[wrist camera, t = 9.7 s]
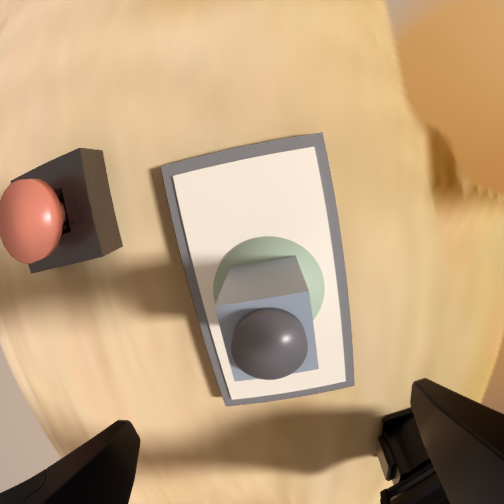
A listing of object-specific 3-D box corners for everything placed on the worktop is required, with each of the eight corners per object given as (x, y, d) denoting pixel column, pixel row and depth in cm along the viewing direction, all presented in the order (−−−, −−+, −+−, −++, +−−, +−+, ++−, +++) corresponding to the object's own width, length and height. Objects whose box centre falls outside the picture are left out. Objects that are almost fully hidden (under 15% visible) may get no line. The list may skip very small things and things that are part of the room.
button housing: (102, 150, 19) (79, 147, 16) (122, 246, 21) (103, 256, 18) (34, 179, 20) (10, 181, 17) (53, 263, 21) (31, 273, 18)
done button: (77, 167, 17) (41, 167, 14) (93, 241, 18) (60, 255, 15) (28, 189, 18) (-8, 193, 14) (43, 255, 19) (9, 269, 15)
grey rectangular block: (295, 255, 19) (311, 298, 12) (304, 314, 20) (321, 378, 13) (230, 266, 19) (211, 314, 12) (243, 325, 20) (232, 391, 13)
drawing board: (318, 135, 18) (323, 131, 17) (350, 376, 22) (355, 387, 21) (166, 166, 19) (159, 166, 18) (227, 397, 23) (225, 408, 22)
